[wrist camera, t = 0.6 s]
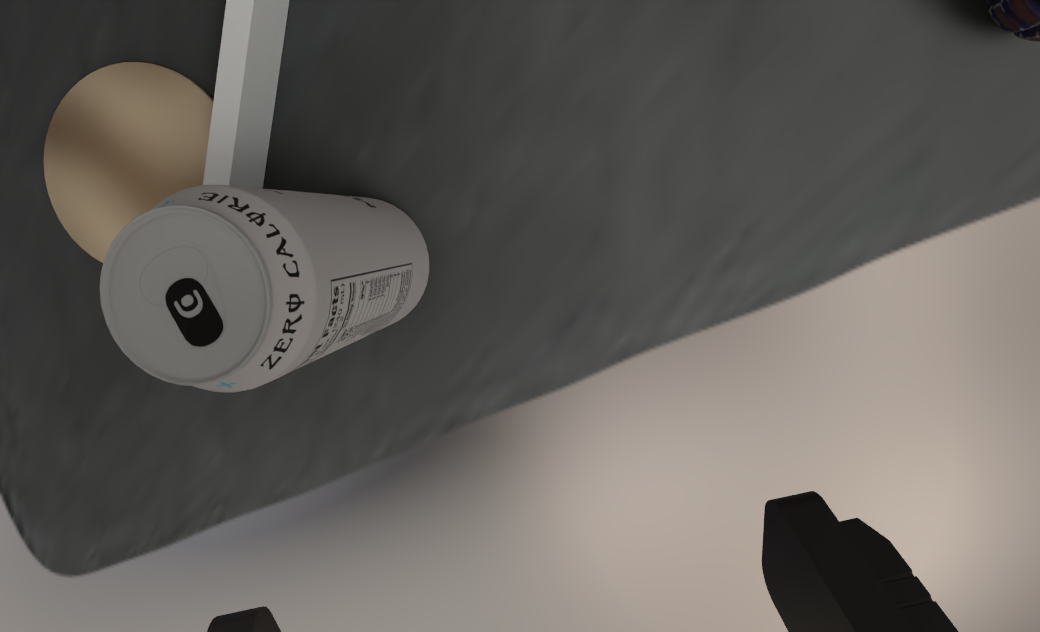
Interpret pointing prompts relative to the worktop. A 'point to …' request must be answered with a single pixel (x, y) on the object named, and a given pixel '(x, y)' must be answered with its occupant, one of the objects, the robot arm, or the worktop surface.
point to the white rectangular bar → (245, 92)
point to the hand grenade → (1017, 17)
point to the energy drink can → (256, 282)
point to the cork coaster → (123, 148)
